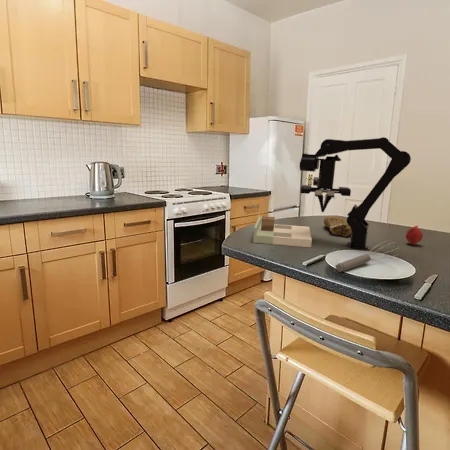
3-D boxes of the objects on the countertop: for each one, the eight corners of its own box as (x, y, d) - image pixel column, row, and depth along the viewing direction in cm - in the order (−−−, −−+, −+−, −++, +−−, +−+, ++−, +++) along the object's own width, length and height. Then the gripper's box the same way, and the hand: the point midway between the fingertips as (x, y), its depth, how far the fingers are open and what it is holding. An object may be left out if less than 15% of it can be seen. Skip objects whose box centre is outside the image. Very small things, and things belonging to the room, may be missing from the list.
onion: (412, 247, 132) (415, 227, 130) (401, 243, 137) (404, 224, 135) (424, 246, 133) (427, 227, 132) (412, 242, 139) (415, 223, 137)
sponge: (354, 241, 143) (353, 222, 160) (352, 224, 140) (352, 207, 157) (322, 242, 148) (324, 224, 165) (320, 226, 145) (323, 209, 162)
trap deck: (311, 247, 126) (312, 232, 125) (253, 242, 130) (254, 227, 129) (308, 233, 147) (309, 220, 146) (258, 229, 151) (259, 216, 150)
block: (273, 231, 136) (274, 219, 135) (260, 230, 137) (261, 218, 136) (273, 228, 141) (274, 217, 140) (262, 227, 142) (262, 216, 141)
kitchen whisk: (325, 270, 104) (328, 251, 102) (385, 254, 123) (387, 237, 121) (342, 277, 99) (345, 256, 97) (401, 259, 118) (404, 242, 116)
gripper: (348, 172, 136) (343, 209, 139) (301, 170, 139) (298, 206, 143) (353, 174, 125) (348, 215, 129) (302, 171, 128) (298, 211, 132)
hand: (322, 211), depth 133 cm, fingers closed
